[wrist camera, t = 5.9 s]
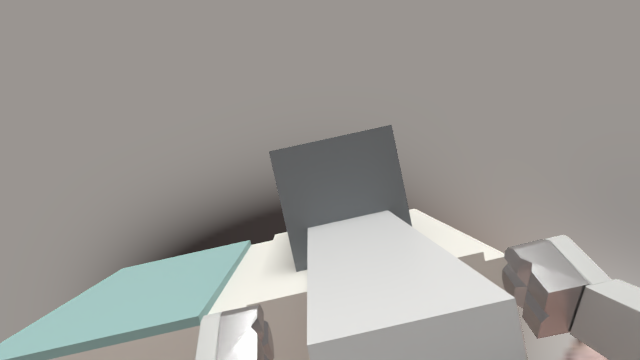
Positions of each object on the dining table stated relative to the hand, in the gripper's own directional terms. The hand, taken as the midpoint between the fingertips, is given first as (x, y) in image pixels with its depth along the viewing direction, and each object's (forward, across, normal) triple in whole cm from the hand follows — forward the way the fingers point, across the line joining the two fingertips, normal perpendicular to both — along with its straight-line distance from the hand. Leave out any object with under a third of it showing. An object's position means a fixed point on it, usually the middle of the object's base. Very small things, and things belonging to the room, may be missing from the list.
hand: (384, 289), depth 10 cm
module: (+6, 0, +5) cm, 8 cm away
